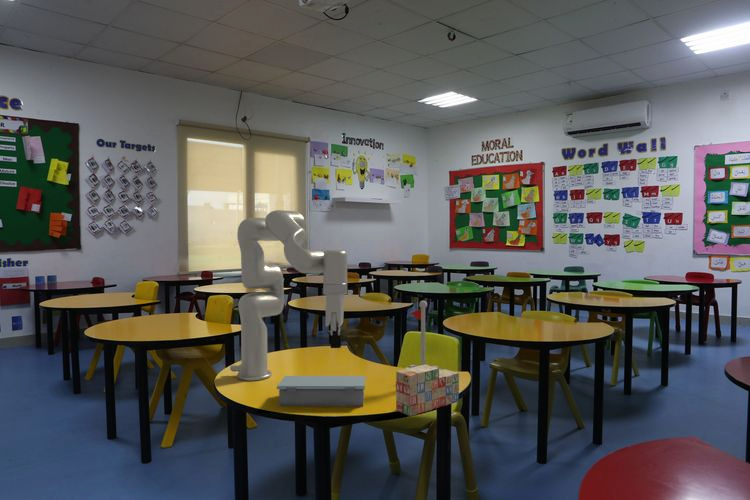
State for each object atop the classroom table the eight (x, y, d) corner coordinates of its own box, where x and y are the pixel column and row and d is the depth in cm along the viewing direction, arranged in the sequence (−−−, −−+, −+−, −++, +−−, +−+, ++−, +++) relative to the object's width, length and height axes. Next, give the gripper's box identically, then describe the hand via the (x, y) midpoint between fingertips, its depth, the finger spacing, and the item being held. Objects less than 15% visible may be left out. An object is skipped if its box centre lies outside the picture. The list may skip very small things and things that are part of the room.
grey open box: (279, 406, 147) (279, 390, 147) (286, 393, 159) (286, 379, 159) (363, 406, 147) (363, 390, 147) (364, 394, 159) (364, 379, 159)
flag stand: (447, 382, 173) (447, 299, 173) (431, 391, 162) (431, 303, 162) (415, 376, 180) (415, 297, 180) (398, 385, 170) (398, 301, 169)
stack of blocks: (445, 396, 157) (445, 359, 157) (459, 401, 152) (459, 363, 152) (395, 410, 144) (395, 370, 144) (409, 416, 139) (409, 374, 139)
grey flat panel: (276, 393, 146) (276, 386, 146) (284, 382, 159) (284, 375, 159) (364, 393, 146) (364, 386, 146) (365, 382, 159) (365, 375, 159)
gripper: (326, 287, 157) (326, 342, 157) (320, 291, 142) (320, 352, 143) (349, 287, 157) (349, 342, 157) (345, 291, 142) (345, 352, 142)
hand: (335, 347), depth 150 cm, fingers closed
